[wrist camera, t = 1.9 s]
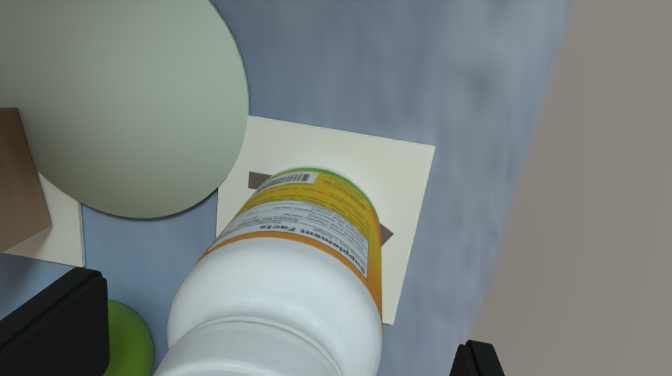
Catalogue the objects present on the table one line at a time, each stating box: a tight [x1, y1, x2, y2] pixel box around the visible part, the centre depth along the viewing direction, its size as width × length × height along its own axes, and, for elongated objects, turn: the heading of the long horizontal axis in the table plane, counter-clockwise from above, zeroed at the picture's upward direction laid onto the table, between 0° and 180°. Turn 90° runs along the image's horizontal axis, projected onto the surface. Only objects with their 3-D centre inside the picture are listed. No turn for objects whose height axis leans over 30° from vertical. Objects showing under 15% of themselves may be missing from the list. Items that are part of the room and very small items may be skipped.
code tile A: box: [216, 115, 435, 325], centre depth 17 cm, size 8×8×1 cm
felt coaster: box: [0, 0, 250, 218], centre depth 16 cm, size 10×10×1 cm
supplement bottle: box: [153, 166, 383, 376], centre depth 12 cm, size 5×5×10 cm
